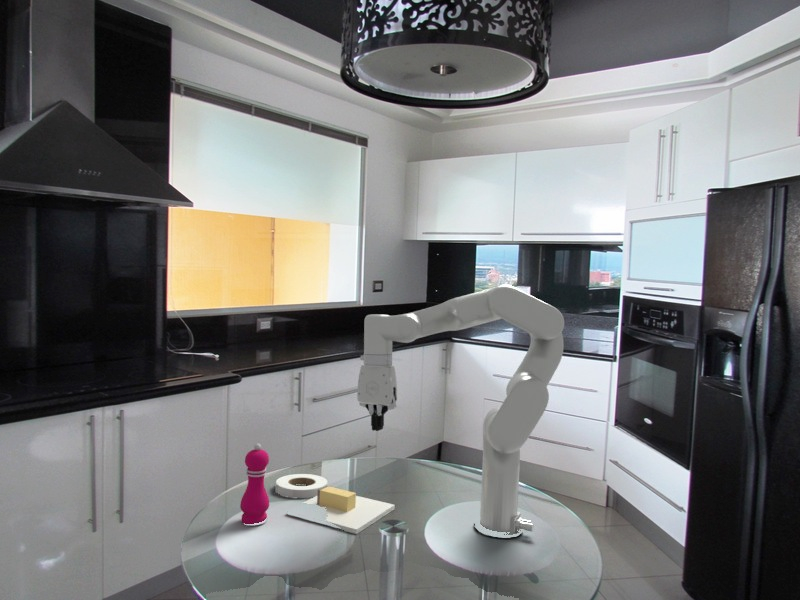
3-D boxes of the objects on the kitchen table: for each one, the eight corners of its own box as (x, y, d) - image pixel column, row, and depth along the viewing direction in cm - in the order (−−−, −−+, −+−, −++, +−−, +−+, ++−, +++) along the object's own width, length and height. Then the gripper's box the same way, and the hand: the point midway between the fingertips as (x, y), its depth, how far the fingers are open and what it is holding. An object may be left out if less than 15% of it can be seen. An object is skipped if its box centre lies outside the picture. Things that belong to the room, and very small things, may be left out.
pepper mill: (239, 528, 135) (243, 447, 135) (239, 517, 142) (243, 440, 142) (269, 526, 137) (272, 446, 137) (268, 515, 144) (271, 439, 144)
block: (355, 493, 149) (326, 485, 154) (347, 497, 146) (317, 489, 150) (355, 507, 149) (325, 499, 154) (347, 512, 146) (317, 504, 150)
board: (394, 509, 152) (394, 504, 152) (356, 534, 135) (356, 529, 135) (329, 493, 163) (329, 489, 163) (286, 514, 145) (286, 510, 145)
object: (306, 479, 176) (307, 470, 176) (337, 492, 165) (337, 482, 165) (265, 489, 165) (265, 479, 165) (294, 503, 154) (295, 493, 154)
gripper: (346, 360, 145) (346, 429, 145) (396, 363, 138) (395, 436, 138) (361, 358, 152) (360, 424, 151) (409, 361, 145) (408, 430, 144)
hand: (377, 429), depth 145 cm, fingers closed
